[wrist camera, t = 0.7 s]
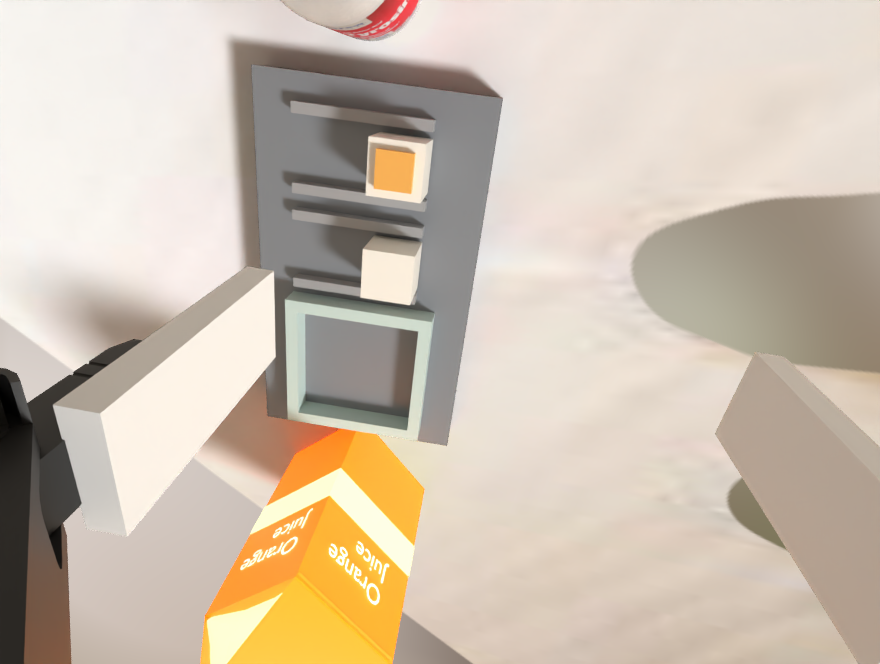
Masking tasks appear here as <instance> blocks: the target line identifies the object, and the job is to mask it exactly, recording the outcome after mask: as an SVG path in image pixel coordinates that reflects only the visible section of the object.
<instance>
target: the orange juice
mask: <svg viewBox="0 0 880 664" xmlns="http://www.w3.org/2000/svg"><path fill="white" fill-rule="evenodd" d="M423 494H424V488H423V487H422V486H421V484H420V483H419V482H418V481H417V480H416V479H415V478H414V476H413V475H412V474H411V473H410V472H409V471H408V470H407V468H406V467H405V466H404V465H403V464H402V463H401V462H400V460H399V459H398V458H397V457H396V456H395V455H394V454H393V452H392V451H391V450H390V449H389V448H388V447H387V446H386V444H385V443H384V442H383V441H382V440H381V439H380V437H379V436H378V435H377V434H371V433H365V432H359V431H353V430H347V429H340V430H338V431H336V432H334V433H333V434H331V435H329V436H327V437H325V438H324V439H322V440H320V441H318V442H316V443H314V444H313V445H311V446H309V447H307V448H305V449H304V450H302V451H300V452H298V453H296V454H295V455H294V457H293V459H292V461H291V463H290V464H289V466H288V468H287V470H286V472H285V473H284V475H283V477H282V479H281V481H280V482H279V484H278V486H277V488H276V490H275V491H274V493H273V495H272V497H271V498H270V500H269V502H268V504H267V506H266V507H265V508H264V510H263V511H262V513H261V515H260V517H259V519H258V520H257V522H256V524H255V526H254V527H253V529H252V531H251V533H250V536H249V538H248V540H247V542H246V544H245V545H244V547H243V549H242V551H241V552H240V554H239V556H238V558H237V560H236V561H235V563H234V565H233V567H232V569H231V570H230V572H229V574H228V576H227V578H226V580H225V581H224V583H223V585H222V587H221V588H220V590H219V592H218V594H217V596H216V598H215V599H214V601H213V603H212V604H211V606H210V608H209V610H208V612H207V613H206V615H205V622H204V632H203V633H204V634H203V643H202V653H201V663H200V664H392V662H393V657H394V651H395V646H396V640H397V635H398V629H399V624H400V619H401V613H402V608H403V602H404V597H405V592H406V586H407V581H408V577H409V574H410V569H411V563H412V558H413V552H414V543H415V537H416V532H417V527H418V521H419V516H420V510H421V505H422V499H423Z"/></svg>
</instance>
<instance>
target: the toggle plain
mask: <svg viewBox="0 0 880 664" xmlns="http://www.w3.org/2000/svg"><path fill="white" fill-rule="evenodd" d="M421 250H422V242H418V241H411V240H404V239H398V238H391V237H384V236H377V235H374V236H373V238H372V239H371V240H370V241H369V242H368V243H367V245H366V246H365V247H364V248H363V254H362V274H361V293H360V298H366V299H372V300H379V301H385V302H392V303H398V304H405V305H410V304H411V302H412V299H413V297H414V295H415V292H416V290H417V287H418V278H419V269H420V259H421Z"/></svg>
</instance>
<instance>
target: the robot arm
mask: <svg viewBox="0 0 880 664" xmlns="http://www.w3.org/2000/svg"><path fill="white" fill-rule="evenodd" d="M275 357H276V352H275V300H274V271H272V270H266V269H260V268H254V267H248V266H247V267H245V268H244V269H242V270H241V271H240V272H238V273H237V274H235V275H234V276H233V277H231V278H230V279H228V280H227V281H226V282H224V283H223V284H221V285H220V286H219V287H217V288H216V289H214V290H213V291H212V292H210V293H209V294H207V295H206V296H205V297H203V298H202V299H200V300H199V301H198V302H196V303H195V304H193V305H192V306H191V307H189V308H188V309H186V310H185V311H184V312H182V313H181V314H179V315H178V316H177V317H175V318H174V319H172V320H171V321H170V322H168V323H167V324H165V325H164V326H163V327H161V328H160V329H158V330H157V331H156V332H154V333H153V334H151V335H150V336H149V337H147V338H146V339H144V340H143V341H141V340H136V339H133V340H130V341H127V342H125V343H122V344H119V345H117V346H114V347H111V348H109V349H107V350H106V351H104V352H103V353H101V354H100V355H98V356H97V357H95V358H94V359H92V360H91V361H89V364H85V365H83V366H82V367H80V368H79V369H77V370H76V371H74V373H73V375H68V376H67V377H65V378H64V379H62V380H61V381H59V382H58V383H57V384H55V385H53V386H52V387H50V388H49V389H48V390H46V391H45V392H43V393H42V394H40V395H39V396H37V397H36V398H34V399H33V400H31V401H30V402H28V403H27V402H26V398H25V395H24V392H23V389H22V385H21V382H20V379H19V377H18V375H17V373H14V372H12V371H10V370H8V369H4V368H0V664H71V643H70V642H71V641H70V616H69V615H70V614H69V586H68V556H67V535H66V532H65V528H64V525H63V522H64V521H65V520H66V519H67V518H68V517H69V516H70V515H71V514H72V513H73V512H74V511H75V510H76V509H77V508H78V507H79V506H80V507H81V511H82V515H83V518H84V522H85V525H86V529H88V530H94V531H99V532H104V533H110V534H115V535H120V536H126V537H127V536H128V535H129V534H130V533H131V532H132V531H133V529H134V528H135V527H136V526H137V525H138V523H139V522H140V521H141V520H142V518H143V517H144V516H145V515H146V514H147V512H148V511H149V510H150V509H151V507H152V506H153V505H154V504H155V503H156V501H157V500H158V499H159V498H160V497H161V495H162V494H163V493H164V492H165V491H166V489H167V488H168V487H169V486H170V484H171V483H172V482H173V481H174V480H175V478H176V477H177V476H178V475H179V474H180V472H181V471H182V470H183V469H184V468H185V466H186V465H187V464H188V462H189V461H190V460H191V459H192V458H193V457H194V455H195V454H196V453H197V452H198V451H199V449H200V448H201V447H202V446H203V444H204V443H205V442H206V441H207V440H208V438H209V437H210V436H211V435H212V434H213V432H214V431H215V430H216V429H217V427H218V426H219V425H220V424H221V423H222V421H223V420H224V419H225V418H226V417H227V415H228V414H229V413H230V412H231V410H232V409H233V408H234V407H235V406H236V404H237V403H238V402H239V401H240V400H241V398H242V397H243V396H244V395H245V394H246V392H247V391H248V390H249V389H250V387H251V386H252V385H253V384H254V383H255V381H256V380H257V379H258V378H259V377H260V375H261V374H262V373H263V372H264V370H265V369H266V368H267V367H268V366H269V364H270V363H271V362H272V361H273V360H274V358H275ZM715 434H716V436H717V438H718V439H719V441H720V442H721V444H722V446H723V447H724V449H725V451H726V452H727V454H728V455H729V457H730V459H731V460H732V462H733V463H734V465H735V467H736V468H737V470H738V471H739V473H740V475H741V476H742V478H743V479H744V481H745V483H746V484H747V486H748V487H749V489H750V491H751V492H752V494H753V495H754V497H755V499H756V500H757V502H758V503H759V505H760V507H761V508H762V510H763V511H764V513H765V514H766V516H767V518H768V520H769V521H770V523H771V524H772V526H773V528H774V529H775V531H776V532H777V534H778V535H779V537H780V539H781V540H782V542H783V544H784V545H785V547H786V548H787V550H788V552H789V553H790V555H791V556H792V558H793V560H794V561H795V563H796V564H797V566H798V568H799V569H800V571H801V572H802V574H803V576H804V577H805V579H806V580H807V582H808V584H809V585H810V587H811V589H812V590H813V592H814V593H815V595H816V597H817V598H818V600H819V601H820V603H821V605H822V606H823V608H824V609H825V611H826V613H827V614H828V616H829V617H830V619H831V621H832V622H833V624H834V625H835V627H836V629H837V630H838V632H839V633H840V635H841V637H842V638H843V640H844V641H845V643H846V645H847V646H848V648H849V650H850V651H851V653H852V654H853V656H854V658H855V659H856V661H857V662H858V664H880V447H879V446H878V445H877V444H876V443H875V442H874V441H873V440H872V439H871V438H870V437H869V436H867V435H866V434H865V433H864V432H863V431H862V430H861V429H860V428H859V427H858V426H857V425H856V424H855V423H854V422H853V421H852V420H851V419H850V418H848V417H847V416H846V415H845V414H844V413H843V412H842V411H841V410H840V409H839V408H838V407H837V406H836V405H835V404H834V403H833V402H832V401H831V400H829V399H828V398H827V397H826V396H825V395H824V394H823V393H822V392H821V391H820V390H819V389H818V388H817V387H816V386H815V385H814V384H813V383H811V382H810V381H809V380H808V379H807V378H806V377H805V376H804V375H803V374H802V373H801V372H800V371H799V370H798V369H797V368H796V367H795V366H794V365H792V364H791V363H790V362H789V361H788V360H787V359H786V358H785V357H783V356H777V355H771V354H765V353H759V352H755V353H754V355H753V357H752V360H751V362H750V364H749V366H748V368H747V370H746V372H745V374H744V376H743V378H742V380H741V382H740V384H739V386H738V388H737V390H736V392H735V394H734V396H733V398H732V400H731V402H730V404H729V406H728V408H727V410H726V412H725V414H724V416H723V418H722V420H721V422H720V424H719V426H718V428H717V431H716V433H715Z"/></svg>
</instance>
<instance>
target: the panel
mask: <svg viewBox="0 0 880 664" xmlns="http://www.w3.org/2000/svg"><path fill="white" fill-rule="evenodd" d="M251 66H252V88H253V110H254V131H255V153H256V175H257V196H258V218H259V240H260V261H261V269H266V270H272V271H274V300H275V352H276V357H275V358H274V360H273V361H272V362H271V363H270V364H269V366H268V367H267V368H266V369H265V370H266V391H267V413H268V416H270V417H276V418H282V419H288V420H292V421H299V422H305V423H311V424H317V425H323V426H329V427H335V428H341V429H347V430H353V431H359V432H365V433H371V434H377V435H383V436H389V437H395V438H401V439H407V440H413V441H421V442H427V443H434V444H440V445H446V446H447V443H448V437H449V431H450V424H451V418H452V412H453V406H454V400H455V393H456V387H457V381H458V375H459V368H460V362H461V356H462V350H463V344H464V337H465V331H466V325H467V319H468V312H469V306H470V300H471V294H472V288H473V281H474V275H475V269H476V263H477V256H478V250H479V244H480V238H481V232H482V225H483V219H484V213H485V207H486V201H487V194H488V188H489V182H490V176H491V169H492V163H493V157H494V151H495V145H496V138H497V132H498V126H499V120H500V113H501V107H502V101H503V98H499V97H491V96H484V95H476V94H469V93H462V92H454V91H447V90H440V89H432V88H425V87H417V86H410V85H403V84H395V83H388V82H380V81H373V80H366V79H358V78H351V77H344V76H336V75H329V74H321V73H314V72H307V71H299V70H292V69H284V68H277V67H270V66H261V65H251ZM379 132H386V133H394V134H401V135H408V136H415V137H422V138H429V139H433V147H432V156H431V166H430V175H429V185H428V193H427V195H426V196H425V198H424V199H423V200H422V202H421V203H414V202H407V201H400V200H393V199H386V198H380V197H373V196H366V176H367V157H368V137H369V136H370V135H373V134H376V133H379ZM374 235H377V236H384V237H391V238H398V239H404V240H411V241H418V242H422V250H421V259H420V269H419V278H418V287H417V290H416V292H415V295H414V297H413V299H412V302H411V304H410V305H405V304H398V303H392V302H385V301H379V300H372V299H366V298H360V293H361V274H362V254H363V248H364V247H365V246H366V245H367V243H368V242H369V241H370V240H371V239H372V238H373V236H374Z"/></svg>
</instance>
